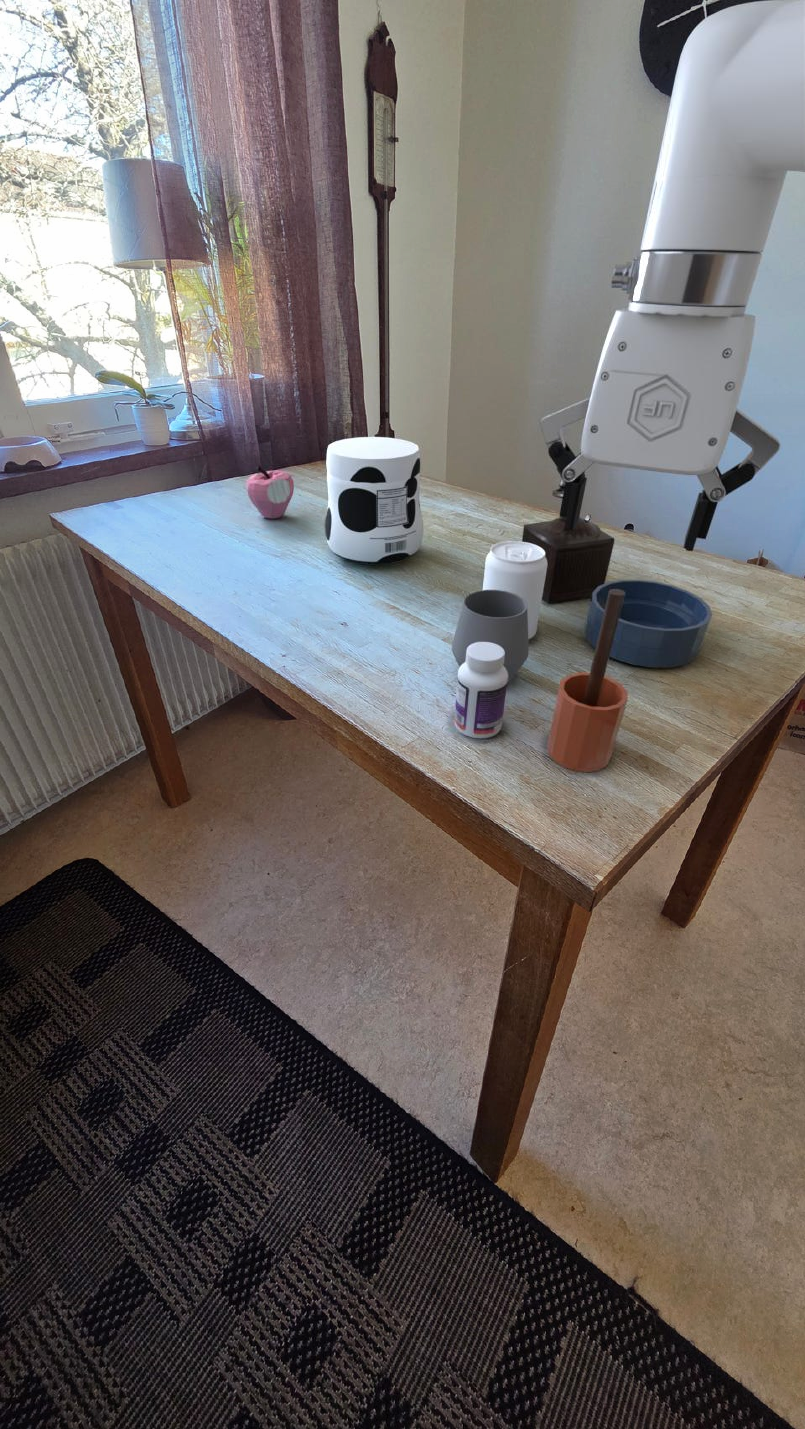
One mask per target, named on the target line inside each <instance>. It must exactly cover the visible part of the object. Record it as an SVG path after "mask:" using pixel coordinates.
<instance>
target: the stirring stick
mask: <svg viewBox="0 0 805 1429" xmlns="http://www.w3.org/2000/svg"><path fill="white" fill-rule="evenodd" d="M624 597H625V592H624V591H623V590H620V589H611V590H609V594H608V598H607V602H606V606H605V611H604V615H603V619H602V623H601V628H600V632H599V636H598V640H597V644H596V648H594V654H593V658H592V661H591V666H590V670H589V673H590V674H589V678H588V683H587V687H586V691H585V695H584V699H583V704H585V705H588V706H592V707H597V703H598V699H599V695H600V691H601V687H602V683H603V679H604V676H606V671H607V668H608V664H609V659H610V652H611V648H612V644H613V640H614V636H615V632H616V628H617V624H618V621H619V617H620V613H621V609H622V605H623V601H624Z"/></svg>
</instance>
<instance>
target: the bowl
mask: <svg viewBox="0 0 805 1429" xmlns="http://www.w3.org/2000/svg"><path fill="white" fill-rule="evenodd" d="M611 589H620V590H623V591H624V592H625V597H624V601H623V605H622V609H621V613H620V617H619V621H618V624H617V628H616V632H615V636H614V640H613V644H612V648H611V652H610V656H609V658H612V659H613V660H616V661H620V662H623V663H626V664H630V665H633V666H640V667H647V668H654V669H655V668H660V669H661V668H674V667H679V666H683V665H687V664H688V663H690V662H692V661H693V660H695V659H697V657H698V655H699V653H700V651H701V648H702V645H703V643H704V640H705V637H706V634H707V631H708V629H709V626H710V623H711V620H712V617H713V612H712V609H711V607H710V605H709V604H707V602H706V601H705V600H703V598H701V597H699V596H697V595H696V594H695V593H692V592H691V591H689V590H687V589H684V588H681V587H678V586H675V585H672V584H669V583H663V582H660V581H654V580H644V579H618V580H613V581H612V580H611V581H607V582H605V584H603V585H600V586H598V587H597V588H596V589H595V590H594V591H593V593H592V596H591V597H590V599H589V604H588V605H589V607H588V610H587V615H586V619H585V623H584V634H583V635H584V637H585V638H586V640H587V642H588V643H589V645H590V646H592V647H593V648H594V649H596V644H597V640H598V636H599V632H600V628H601V623H602V619H603V615H604V611H605V606H606V602H607V598H608V594H609V590H611Z"/></svg>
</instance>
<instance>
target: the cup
mask: <svg viewBox="0 0 805 1429" xmlns="http://www.w3.org/2000/svg"><path fill="white" fill-rule="evenodd" d="M454 631H455V632H454V634H453V639H452V643H451V644H452V645H451V652H452V655H453V657H454V659H455V661H456V663H457V665H458V668H460V666H461V665H462V664H463V663H465V662H466V651H467V648H468V646H470V645H471V644H473V643H477V642H490V643H494V644H497V645H499V646H501V647H502V648H503V649H504V651H505V657H504V664H503V666H504V667H505V668H506V670H507V672H508V682H510V681H511V680H512V679H513V678H514V676H515V675H516V674H517V672H518V671H519V670H521V668H522V667H523V665H524V664H525V662H526V661H527V659H528V658H529V654H530V653H529V652H530V651H529V639H528V613H527V603H526V601H525V600H524V599H523V598H521V597H520V596H518V595H516V594H513V593H510V592H507V591H501V590H483V589H481V590H475V591H473V592H471V593H468V594H467V595H466V596H465V597H464V598H463V601H462V605H461V609H460V612H459V616H458V619H457V624H456V627H455V630H454Z"/></svg>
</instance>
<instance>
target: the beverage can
mask: <svg viewBox="0 0 805 1429" xmlns="http://www.w3.org/2000/svg"><path fill="white" fill-rule="evenodd" d="M484 562H485V563H484V574H483V582H482V590H501V591H507V592H510V593H513V594H516V595H518V596H520V597H521V598H523V599H524V600H525V601H526V603H527V613H528V640H531V639H533V637H534V636H536V635H537V634H536V633H537V631H538V626H539V625H538V624H539V617H540V613H541V607H542V600H543V599H542V595H543V589H544V583H545V577H546V571H547V559H546V557H545V551H544V550H543V549H542V548H541V547H539V546H537V545H534V544H531V543H527V542H522V541H519V540H507V541H500V542H497V543H495V544H493V545H492V546H491V547H490V551H489V552H488V554H487V555H486V557H485V561H484Z"/></svg>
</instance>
